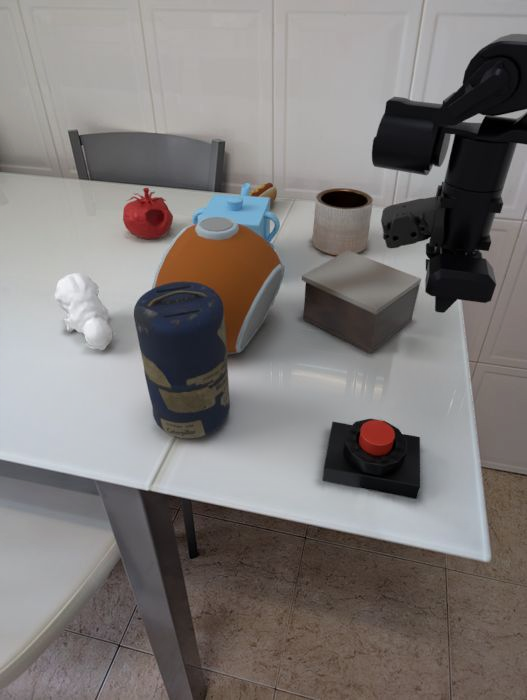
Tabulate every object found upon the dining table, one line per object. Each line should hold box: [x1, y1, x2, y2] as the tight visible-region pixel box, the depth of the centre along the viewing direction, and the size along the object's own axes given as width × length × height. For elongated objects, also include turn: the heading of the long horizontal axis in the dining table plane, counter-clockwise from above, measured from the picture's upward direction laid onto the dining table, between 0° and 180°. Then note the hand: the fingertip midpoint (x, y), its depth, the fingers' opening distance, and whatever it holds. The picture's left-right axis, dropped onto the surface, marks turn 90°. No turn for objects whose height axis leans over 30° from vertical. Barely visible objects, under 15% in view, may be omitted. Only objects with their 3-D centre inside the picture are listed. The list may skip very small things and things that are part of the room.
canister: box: [133, 281, 231, 440], centre depth 56 cm, size 10×10×18 cm
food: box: [250, 182, 278, 206], centre depth 111 cm, size 14×6×5 cm, turn 150°
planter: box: [312, 187, 374, 257], centre depth 96 cm, size 11×11×10 cm
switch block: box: [322, 418, 421, 500], centre depth 55 cm, size 10×7×4 cm
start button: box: [359, 419, 395, 456], centre depth 53 cm, size 4×4×2 cm
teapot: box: [191, 182, 281, 250], centre depth 90 cm, size 18×16×13 cm
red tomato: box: [122, 187, 174, 240], centre depth 100 cm, size 10×10×9 cm
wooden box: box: [302, 282, 421, 354], centre depth 76 cm, size 13×12×7 cm
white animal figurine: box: [54, 272, 116, 351], centre depth 72 cm, size 6×8×12 cm
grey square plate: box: [301, 250, 422, 315], centre depth 74 cm, size 13×12×1 cm
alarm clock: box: [151, 217, 285, 356], centre depth 71 cm, size 19×18×17 cm
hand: (439, 310), depth 60 cm, fingers closed
